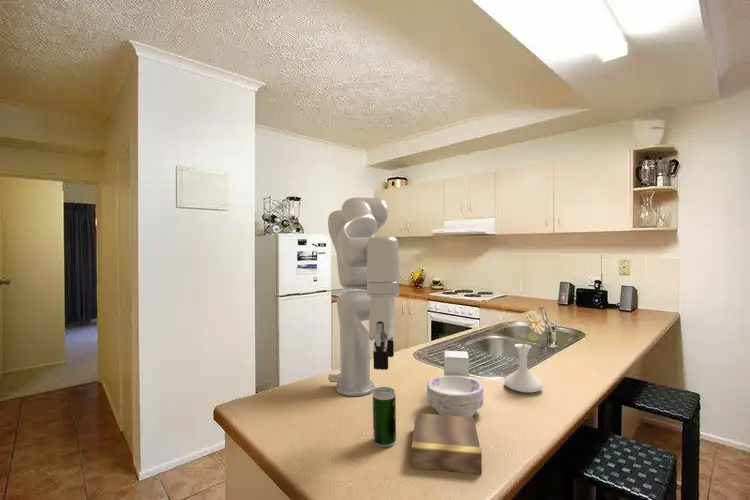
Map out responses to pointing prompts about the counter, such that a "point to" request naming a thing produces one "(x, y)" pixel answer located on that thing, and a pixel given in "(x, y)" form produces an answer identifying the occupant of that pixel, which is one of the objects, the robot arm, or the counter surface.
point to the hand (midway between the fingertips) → (384, 362)
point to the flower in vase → (522, 376)
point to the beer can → (384, 416)
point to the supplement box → (456, 363)
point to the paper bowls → (455, 395)
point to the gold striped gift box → (446, 443)
